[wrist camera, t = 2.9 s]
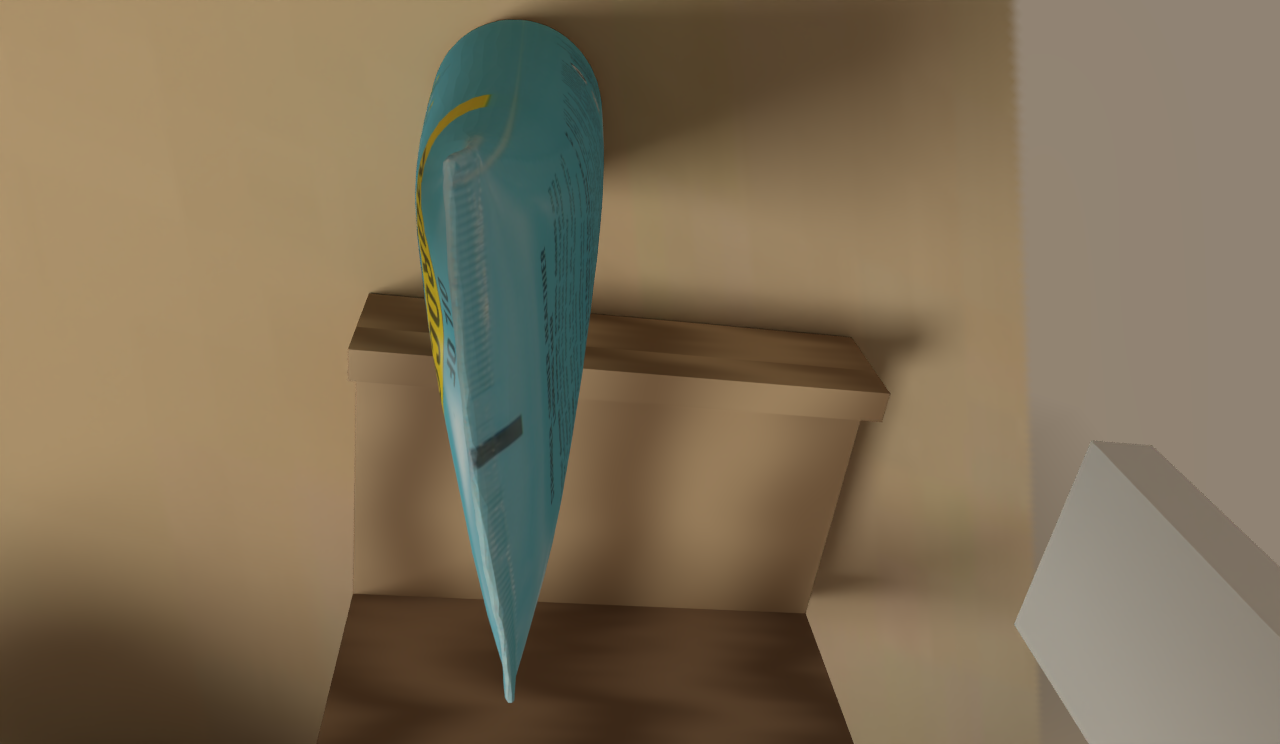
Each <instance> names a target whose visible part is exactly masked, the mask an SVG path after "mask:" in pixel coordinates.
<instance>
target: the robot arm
mask: <svg viewBox="0 0 1280 744" xmlns="http://www.w3.org/2000/svg"><path fill="white" fill-rule="evenodd" d="M1014 625H1015V627H1016V628H1017V630H1018V631H1019V633H1020V635H1021V636H1022V638H1023V639H1024V641H1025V643H1026V644H1027V646H1028V647H1029V649H1030V651H1031V652H1032V654H1033V655H1034V657H1035V659H1036V660H1037V662H1038V663H1039V665H1040V667H1041V668H1042V670H1043V671H1044V673H1045V675H1046V676H1047V678H1048V679H1049V681H1050V683H1051V684H1052V686H1053V687H1054V689H1055V691H1056V692H1057V694H1058V695H1059V697H1060V699H1061V700H1062V702H1063V703H1064V705H1065V706H1066V708H1067V710H1068V711H1069V713H1070V715H1071V716H1072V718H1073V719H1074V721H1075V723H1076V724H1077V726H1078V727H1079V729H1080V731H1081V732H1082V734H1083V735H1084V737H1085V739H1086V740H1087V742H1088V743H1089V744H1280V567H1279V566H1278V565H1277V564H1276V563H1275V562H1274V561H1273V560H1272V559H1271V558H1270V557H1269V556H1268V555H1267V554H1266V553H1265V552H1264V551H1262V550H1261V549H1260V548H1259V547H1258V546H1257V545H1256V544H1255V543H1254V542H1253V541H1252V540H1251V539H1250V538H1249V537H1248V536H1247V535H1246V534H1245V533H1243V532H1242V531H1241V530H1240V529H1239V528H1238V527H1237V526H1236V525H1235V524H1234V523H1233V522H1232V521H1231V520H1230V519H1229V518H1228V517H1227V516H1226V515H1224V513H1222V512H1221V511H1220V510H1219V509H1218V508H1217V507H1216V506H1215V505H1214V504H1213V503H1212V502H1211V501H1210V500H1209V499H1208V498H1207V497H1206V496H1204V494H1203V493H1202V492H1200V491H1199V490H1198V489H1197V488H1196V487H1195V486H1194V485H1193V484H1192V483H1191V482H1190V481H1189V480H1188V479H1187V478H1186V477H1185V476H1184V475H1183V474H1182V473H1180V472H1179V471H1178V470H1177V469H1176V468H1175V467H1174V466H1173V465H1172V464H1171V463H1170V462H1169V461H1168V460H1167V459H1166V458H1165V457H1164V456H1163V455H1162V454H1160V453H1159V452H1158V451H1157V450H1156V449H1155V448H1154V447H1153V446H1152V445H1139V444H1127V443H1115V442H1102V441H1091V443H1090V445H1089V447H1088V450H1087V452H1086V455H1085V457H1084V459H1083V462H1082V464H1081V466H1080V469H1079V471H1078V474H1077V476H1076V478H1075V481H1074V483H1073V485H1072V488H1071V490H1070V493H1069V495H1068V498H1067V500H1066V502H1065V505H1064V507H1063V509H1062V512H1061V514H1060V516H1059V519H1058V521H1057V524H1056V526H1055V528H1054V531H1053V533H1052V535H1051V538H1050V540H1049V543H1048V545H1047V547H1046V550H1045V552H1044V555H1043V557H1042V559H1041V562H1040V564H1039V566H1038V569H1037V571H1036V573H1035V576H1034V578H1033V581H1032V583H1031V585H1030V588H1029V590H1028V592H1027V595H1026V597H1025V600H1024V602H1023V604H1022V607H1021V609H1020V611H1019V614H1018V616H1017V619H1016V621H1015V623H1014Z"/></svg>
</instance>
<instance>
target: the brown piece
mask: <svg viewBox="0 0 1280 744" xmlns="http://www.w3.org/2000/svg"><path fill="white" fill-rule="evenodd" d="M348 381H356V406H355V483H354V559H353V596H352V600H351V604H350V608H349V612H348V617H347V621H346V625H345V629H344V633H343V637H342V641H341V645H340V650H339V654H338V658H337V662H336V666H335V670H334V674H333V678H332V683H331V687H330V691H329V695H328V699H327V703H326V707H325V711H324V715H323V720H322V724H321V728H320V732H319V736H318V740H317V744H854V743H853V740H852V738H851V735H850V732H849V730H848V727H847V724H846V722H845V719H844V716H843V713H842V711H841V708H840V705H839V703H838V700H837V697H836V695H835V692H834V689H833V686H832V684H831V681H830V678H829V676H828V673H827V670H826V668H825V665H824V662H823V659H822V657H821V654H820V651H819V649H818V646H817V643H816V641H815V638H814V635H813V632H812V630H811V627H810V624H809V622H808V619H807V616H806V614H805V613H806V610H807V606H808V603H809V599H810V596H811V592H812V589H813V585H814V582H815V578H816V575H817V571H818V568H819V564H820V561H821V557H822V554H823V550H824V547H825V543H826V540H827V536H828V533H829V529H830V526H831V522H832V519H833V515H834V512H835V508H836V505H837V501H838V498H839V494H840V491H841V487H842V484H843V480H844V477H845V473H846V470H847V466H848V463H849V459H850V456H851V452H852V449H853V445H854V442H855V438H856V435H857V431H858V428H859V424H860V421H861V420H862V421H875V422H882V420H883V416H884V413H885V410H886V406H887V403H888V400H889V396H890V393H889V391H888V390H887V388H886V387H885V385H884V384H883V383H882V381H881V380H880V378H879V377H878V375H877V374H876V372H875V371H874V369H873V368H872V367H871V365H870V364H869V362H868V361H867V359H866V358H865V356H864V355H863V353H862V352H861V351H860V349H859V348H858V346H857V345H856V343H855V342H854V340H853V339H852V337H842V336H831V335H820V334H809V333H798V332H787V331H776V330H765V329H754V328H743V327H732V326H721V325H711V324H700V323H689V322H678V321H667V320H656V319H645V318H634V317H623V316H612V315H601V314H590V320H589V327H588V335H587V342H586V350H585V358H584V365H583V373H582V379H581V386H580V392H579V398H578V405H577V411H576V417H575V423H574V430H573V436H572V442H571V448H570V454H569V460H568V466H567V472H566V477H565V483H564V489H563V495H562V500H561V505H560V510H559V515H558V519H557V524H556V529H555V534H554V539H553V543H552V547H551V551H550V555H549V559H548V563H547V567H546V571H545V576H544V579H543V583H542V587H541V590H540V594H539V597H538V601H537V605H536V608H535V612H534V615H533V619H532V622H531V626H530V630H529V633H528V637H527V640H526V644H525V647H524V651H523V654H522V657H521V661H520V664H519V668H518V671H517V674H516V682H515V698H514V701H513V702H512V703H508V701H507V700H506V698H505V693H504V683H503V666H502V662H501V659H500V655H499V652H498V649H497V645H496V642H495V639H494V635H493V632H492V629H491V625H490V622H489V618H488V615H487V611H486V607H485V603H484V599H483V595H482V591H481V587H480V582H479V578H478V574H477V570H476V566H475V562H474V558H473V554H472V549H471V544H470V540H469V535H468V530H467V525H466V520H465V516H464V511H463V506H462V501H461V496H460V492H459V487H458V482H457V477H456V472H455V468H454V463H453V458H452V453H451V448H450V443H449V438H448V433H447V428H446V423H445V418H444V413H443V408H442V403H441V398H440V394H439V385H438V380H437V375H436V370H435V365H434V359H433V352H432V346H431V339H430V333H429V326H428V319H427V311H426V303H425V298H414V297H403V296H392V295H381V294H370V293H369V295H368V298H367V300H366V303H365V306H364V308H363V311H362V314H361V316H360V319H359V321H358V324H357V327H356V329H355V332H354V335H353V337H352V340H351V343H350V345H349V348H348Z"/></svg>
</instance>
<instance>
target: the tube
mask: <svg viewBox="0 0 1280 744" xmlns="http://www.w3.org/2000/svg"><path fill="white" fill-rule="evenodd" d="M603 172H604V137H603V116H602V103H601V96H600V92H599V87H598V83H597V80H596V78H595V75H594V73H593V70H592V68H591V66H590V64H589V63H588V61H587V60H586V58H585V57H584V55H583V54H582V52H581V51H580V50H579V49H578V48H577V47H576V46H575V45H574V44H573V43H572V42H571V41H570V40H569V39H568V38H566V37H565V36H563V35H562V34H561V33H559V32H558V31H556V30H554V29H552V28H550V27H548V26H545V25H542V24H539V23H536V22H532V21H527V20H501V21H496V22H492V23H489V24H486V25H484V26H481V27H478V28H476V29H475V30H473V31H471V32H469V33H468V34H466V35H465V36H464V37H462V38H461V39H460V40H459V41H458V42H457V43H456V44H455V45H454V46H453V47H452V48H451V50H450V51H449V52H448V53H447V55H446V56H445V58H444V60H443V62H442V63H441V65H440V68H439V70H438V72H437V75H436V78H435V81H434V84H433V88H432V92H431V95H430V98H429V103H428V107H427V112H426V116H425V120H424V125H423V130H422V135H421V139H420V146H419V152H418V161H417V171H416V188H415V205H416V221H417V236H418V245H419V254H420V263H421V271H422V280H423V288H424V296H425V303H426V311H427V319H428V326H429V333H430V339H431V346H432V352H433V359H434V365H435V370H436V375H437V380H438V385H439V394H440V398H441V403H442V408H443V413H444V418H445V423H446V428H447V433H448V438H449V443H450V448H451V453H452V458H453V463H454V468H455V472H456V477H457V482H458V487H459V492H460V496H461V501H462V506H463V511H464V516H465V520H466V525H467V530H468V535H469V540H470V544H471V549H472V554H473V558H474V562H475V566H476V570H477V574H478V578H479V582H480V587H481V591H482V595H483V599H484V603H485V607H486V611H487V615H488V618H489V622H490V625H491V629H492V632H493V635H494V639H495V642H496V645H497V649H498V652H499V655H500V659H501V662H502V666H503V683H504V693H505V698H506V700H507V701H508V703H512V702H513V701H514V698H515V682H516V674H517V671H518V668H519V664H520V661H521V657H522V654H523V651H524V647H525V644H526V640H527V637H528V633H529V630H530V626H531V622H532V619H533V615H534V612H535V608H536V605H537V601H538V597H539V594H540V590H541V587H542V583H543V579H544V576H545V571H546V567H547V563H548V559H549V555H550V551H551V547H552V543H553V539H554V534H555V529H556V524H557V519H558V515H559V510H560V505H561V500H562V495H563V489H564V483H565V477H566V472H567V466H568V460H569V454H570V448H571V442H572V436H573V430H574V423H575V417H576V411H577V405H578V398H579V392H580V386H581V379H582V373H583V365H584V358H585V350H586V342H587V335H588V327H589V320H590V312H591V303H592V294H593V285H594V278H595V270H596V262H597V253H598V243H599V233H600V222H601V210H602V198H603Z"/></svg>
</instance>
